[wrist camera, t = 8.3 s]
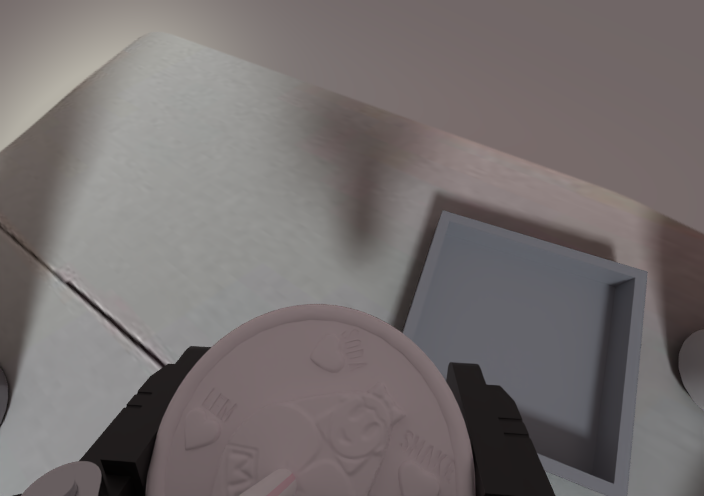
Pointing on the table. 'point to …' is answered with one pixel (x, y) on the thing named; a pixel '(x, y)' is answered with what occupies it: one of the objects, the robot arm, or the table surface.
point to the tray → (540, 339)
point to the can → (693, 366)
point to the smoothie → (313, 414)
